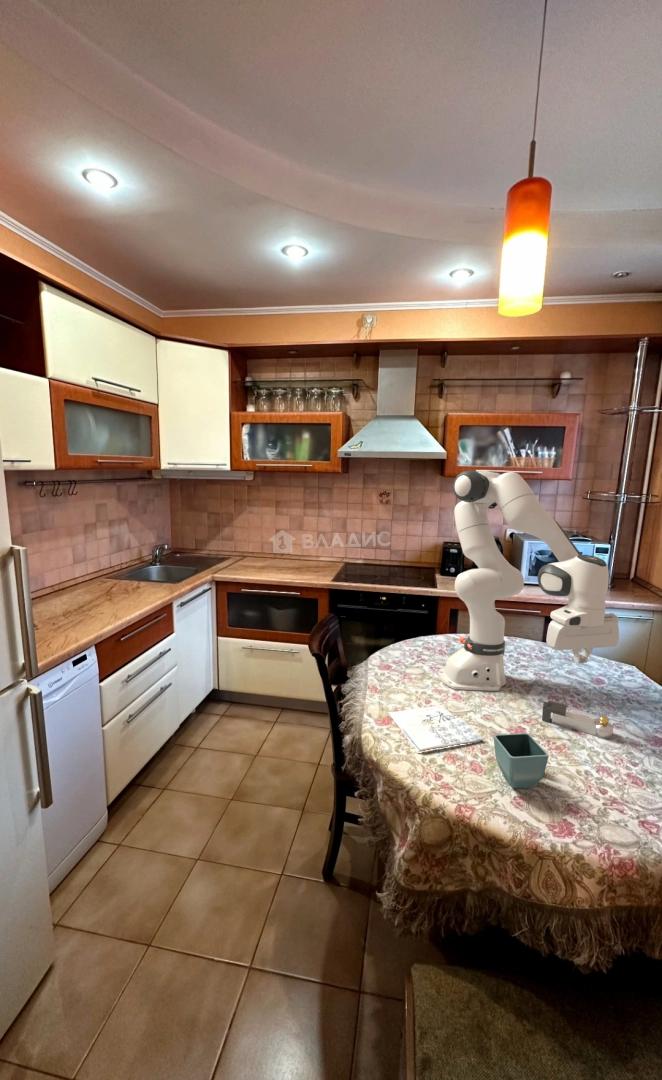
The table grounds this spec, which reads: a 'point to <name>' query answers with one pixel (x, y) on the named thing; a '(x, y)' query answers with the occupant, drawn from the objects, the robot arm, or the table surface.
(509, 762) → the flower pot
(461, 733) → the white illustrated notebook
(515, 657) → the table surface
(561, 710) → the pintle base
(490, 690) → the robot arm
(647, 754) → the table surface
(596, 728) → the link
